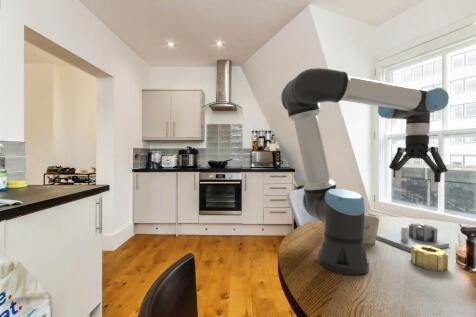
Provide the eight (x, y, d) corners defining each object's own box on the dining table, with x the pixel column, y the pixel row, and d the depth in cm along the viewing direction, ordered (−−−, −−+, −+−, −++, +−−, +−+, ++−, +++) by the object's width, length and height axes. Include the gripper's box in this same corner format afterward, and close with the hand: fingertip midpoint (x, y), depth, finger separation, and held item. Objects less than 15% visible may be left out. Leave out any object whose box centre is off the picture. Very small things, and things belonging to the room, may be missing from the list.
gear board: (413, 253, 87) (414, 234, 87) (375, 238, 102) (375, 222, 102) (448, 247, 94) (449, 229, 94) (407, 234, 109) (408, 218, 109)
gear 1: (427, 243, 93) (427, 228, 93) (403, 235, 102) (403, 222, 102) (442, 241, 96) (443, 226, 96) (418, 233, 105) (418, 220, 105)
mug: (381, 246, 93) (382, 221, 93) (347, 243, 96) (348, 218, 95) (374, 239, 101) (374, 215, 101) (342, 236, 104) (343, 213, 104)
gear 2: (434, 273, 72) (435, 257, 72) (404, 260, 81) (405, 246, 81) (453, 269, 75) (454, 253, 75) (423, 257, 84) (423, 243, 84)
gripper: (461, 133, 85) (458, 193, 85) (393, 137, 108) (390, 184, 108) (449, 131, 82) (445, 193, 82) (381, 136, 105) (379, 184, 106)
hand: (414, 188), depth 95 cm, fingers open, 13 cm apart
